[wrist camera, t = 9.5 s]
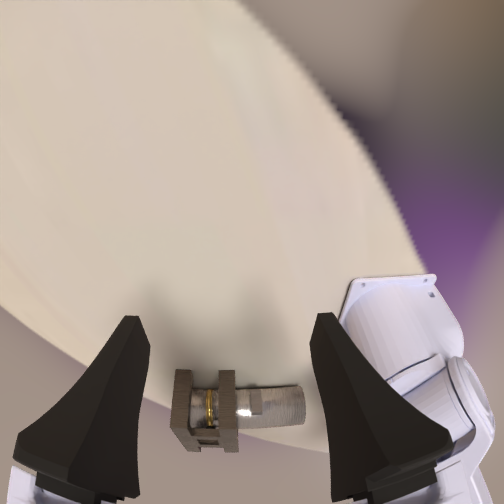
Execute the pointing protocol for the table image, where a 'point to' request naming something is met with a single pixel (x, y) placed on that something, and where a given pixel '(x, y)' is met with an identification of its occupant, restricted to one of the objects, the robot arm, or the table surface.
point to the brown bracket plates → (226, 414)
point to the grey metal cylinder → (251, 408)
